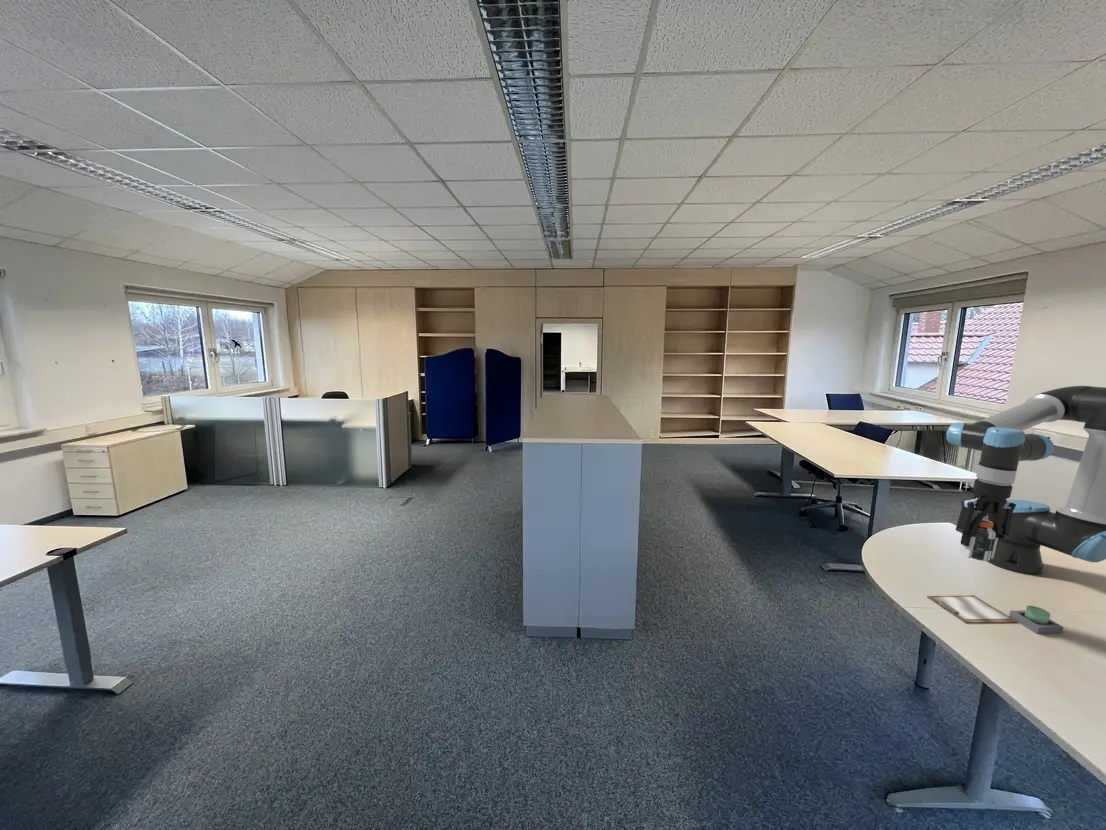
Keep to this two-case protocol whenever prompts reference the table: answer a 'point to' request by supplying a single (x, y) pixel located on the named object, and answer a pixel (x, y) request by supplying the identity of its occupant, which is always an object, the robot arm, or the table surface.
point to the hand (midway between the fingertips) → (976, 555)
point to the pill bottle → (984, 541)
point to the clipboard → (971, 609)
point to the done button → (1037, 615)
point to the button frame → (1039, 629)
